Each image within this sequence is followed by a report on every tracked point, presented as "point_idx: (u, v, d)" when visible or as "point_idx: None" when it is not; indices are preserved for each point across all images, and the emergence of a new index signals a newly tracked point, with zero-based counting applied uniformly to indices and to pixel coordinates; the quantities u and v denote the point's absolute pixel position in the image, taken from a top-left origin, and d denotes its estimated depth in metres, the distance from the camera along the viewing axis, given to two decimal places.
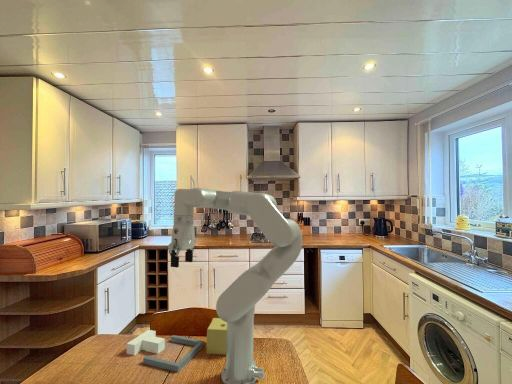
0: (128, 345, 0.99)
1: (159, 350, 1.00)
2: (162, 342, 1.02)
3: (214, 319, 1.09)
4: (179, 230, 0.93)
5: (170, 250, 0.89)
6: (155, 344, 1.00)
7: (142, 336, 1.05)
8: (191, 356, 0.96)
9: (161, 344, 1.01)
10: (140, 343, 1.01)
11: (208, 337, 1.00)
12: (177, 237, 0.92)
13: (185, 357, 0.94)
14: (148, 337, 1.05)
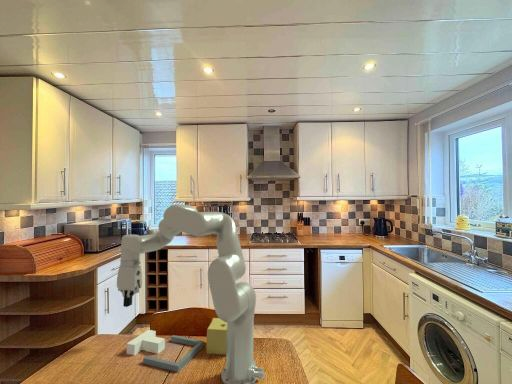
0: (128, 345, 0.99)
1: (159, 350, 1.00)
2: (162, 342, 1.02)
3: (214, 319, 1.09)
4: (140, 271, 1.09)
5: None
6: (155, 344, 1.00)
7: (142, 336, 1.05)
8: (191, 356, 0.96)
9: (161, 344, 1.01)
10: (140, 343, 1.01)
11: (208, 337, 1.00)
12: (139, 278, 1.08)
13: (185, 357, 0.94)
14: (148, 337, 1.05)
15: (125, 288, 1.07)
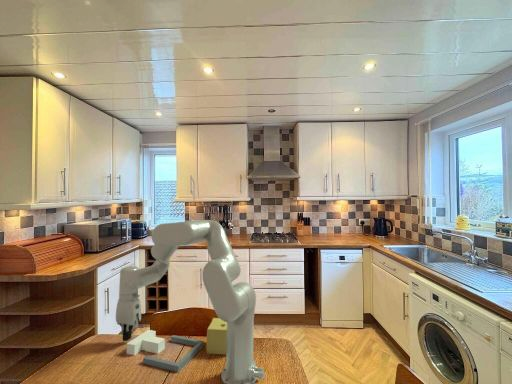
0: (128, 345, 0.99)
1: (159, 350, 1.00)
2: (162, 342, 1.02)
3: (214, 319, 1.09)
4: (139, 304, 1.08)
5: None
6: (155, 344, 1.00)
7: (142, 336, 1.05)
8: (191, 356, 0.96)
9: (161, 344, 1.01)
10: (140, 343, 1.01)
11: (208, 337, 1.00)
12: (138, 311, 1.07)
13: (185, 357, 0.94)
14: (148, 337, 1.05)
15: (124, 322, 1.05)
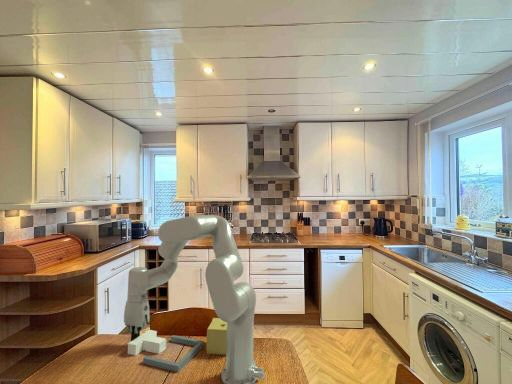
0: (129, 345, 0.99)
1: (160, 350, 1.00)
2: (164, 342, 1.02)
3: (214, 319, 1.09)
4: (148, 306, 1.07)
5: None
6: (156, 344, 1.00)
7: (143, 336, 1.05)
8: (191, 356, 0.96)
9: (162, 344, 1.01)
10: (141, 343, 1.01)
11: (208, 337, 1.00)
12: (147, 312, 1.06)
13: (185, 357, 0.94)
14: (149, 337, 1.04)
15: (132, 324, 1.04)
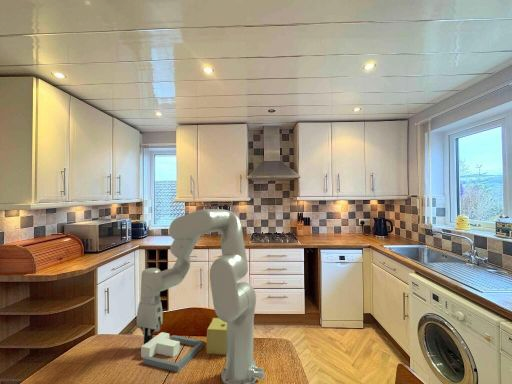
0: (143, 348, 0.97)
1: (174, 353, 0.98)
2: (177, 345, 1.00)
3: (214, 319, 1.09)
4: (161, 307, 1.04)
5: None
6: (170, 347, 0.98)
7: (156, 339, 1.03)
8: (191, 356, 0.96)
9: (176, 347, 0.99)
10: (155, 346, 0.99)
11: (208, 337, 1.00)
12: (160, 314, 1.04)
13: (185, 357, 0.94)
14: (162, 339, 1.02)
15: (146, 326, 1.02)
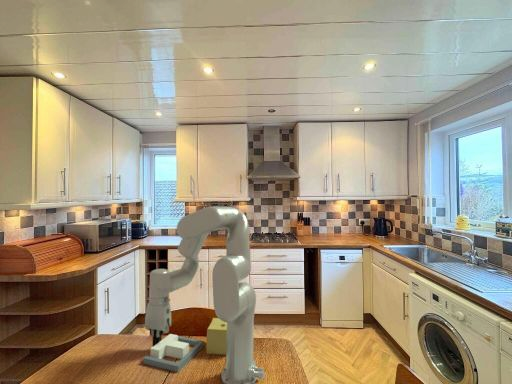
0: (152, 350, 0.96)
1: (184, 355, 0.97)
2: (187, 347, 0.99)
3: (214, 319, 1.09)
4: (170, 309, 1.03)
5: None
6: (180, 349, 0.97)
7: (165, 341, 1.02)
8: (191, 356, 0.96)
9: (185, 349, 0.98)
10: (164, 348, 0.98)
11: (208, 337, 1.00)
12: (169, 316, 1.02)
13: (185, 357, 0.94)
14: (171, 341, 1.01)
15: (154, 328, 1.01)
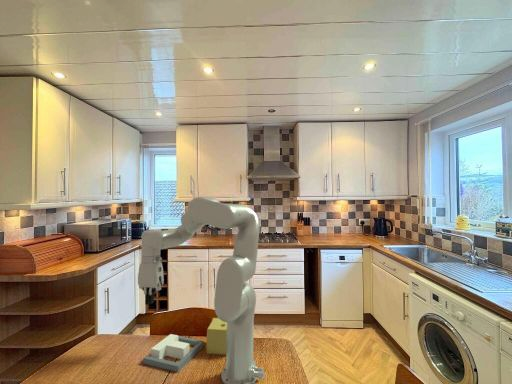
0: (152, 350, 0.96)
1: None
2: (187, 347, 0.99)
3: (214, 319, 1.09)
4: (162, 268, 1.06)
5: None
6: (180, 349, 0.96)
7: (166, 341, 1.01)
8: (191, 356, 0.96)
9: (186, 349, 0.98)
10: (164, 348, 0.98)
11: (208, 337, 1.00)
12: (161, 274, 1.05)
13: (185, 357, 0.94)
14: (171, 341, 1.01)
15: (147, 285, 1.03)
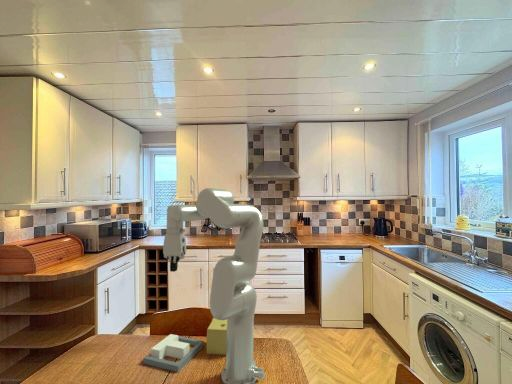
0: (152, 350, 0.96)
1: None
2: (187, 347, 0.99)
3: (214, 319, 1.09)
4: (185, 239, 1.17)
5: None
6: (180, 349, 0.96)
7: (166, 341, 1.01)
8: (191, 356, 0.96)
9: (186, 349, 0.98)
10: (164, 348, 0.98)
11: (208, 337, 1.00)
12: (184, 245, 1.16)
13: (185, 357, 0.94)
14: (171, 341, 1.01)
15: (172, 254, 1.14)
